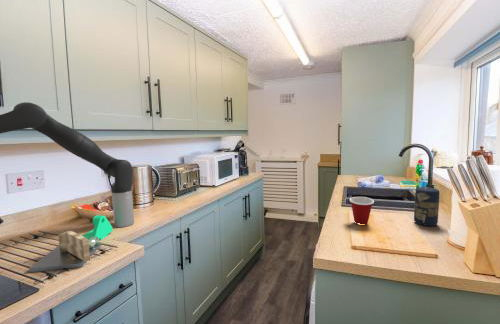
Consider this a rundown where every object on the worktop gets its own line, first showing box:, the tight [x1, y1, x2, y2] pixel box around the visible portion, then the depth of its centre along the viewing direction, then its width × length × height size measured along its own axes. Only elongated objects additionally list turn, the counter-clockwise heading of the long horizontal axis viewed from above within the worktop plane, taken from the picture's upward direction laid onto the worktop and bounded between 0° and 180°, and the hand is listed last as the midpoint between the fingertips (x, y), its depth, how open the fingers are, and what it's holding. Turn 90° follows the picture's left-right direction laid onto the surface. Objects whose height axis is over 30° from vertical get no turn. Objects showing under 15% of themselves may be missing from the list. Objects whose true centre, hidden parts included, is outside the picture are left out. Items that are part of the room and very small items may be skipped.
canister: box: [413, 186, 440, 227], centre depth 125 cm, size 10×10×18 cm
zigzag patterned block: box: [57, 230, 91, 262], centre depth 98 cm, size 20×5×8 cm, turn 54°
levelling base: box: [28, 236, 102, 273], centre depth 100 cm, size 18×16×4 cm
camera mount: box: [81, 214, 114, 241], centre depth 119 cm, size 12×8×10 cm, turn 173°
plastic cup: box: [349, 196, 375, 225], centre depth 128 cm, size 11×11×12 cm
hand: (0, 224), depth 90 cm, fingers closed
